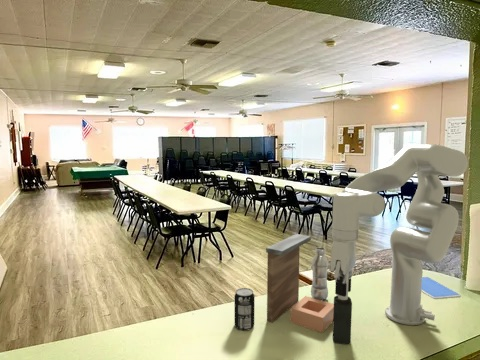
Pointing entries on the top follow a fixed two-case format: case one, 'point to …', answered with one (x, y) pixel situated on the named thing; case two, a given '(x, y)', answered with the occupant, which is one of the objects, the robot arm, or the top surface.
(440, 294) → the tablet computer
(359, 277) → the top surface
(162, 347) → the top surface
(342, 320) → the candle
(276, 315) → the brown board grey top
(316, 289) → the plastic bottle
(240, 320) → the beverage can
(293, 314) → the socket block
